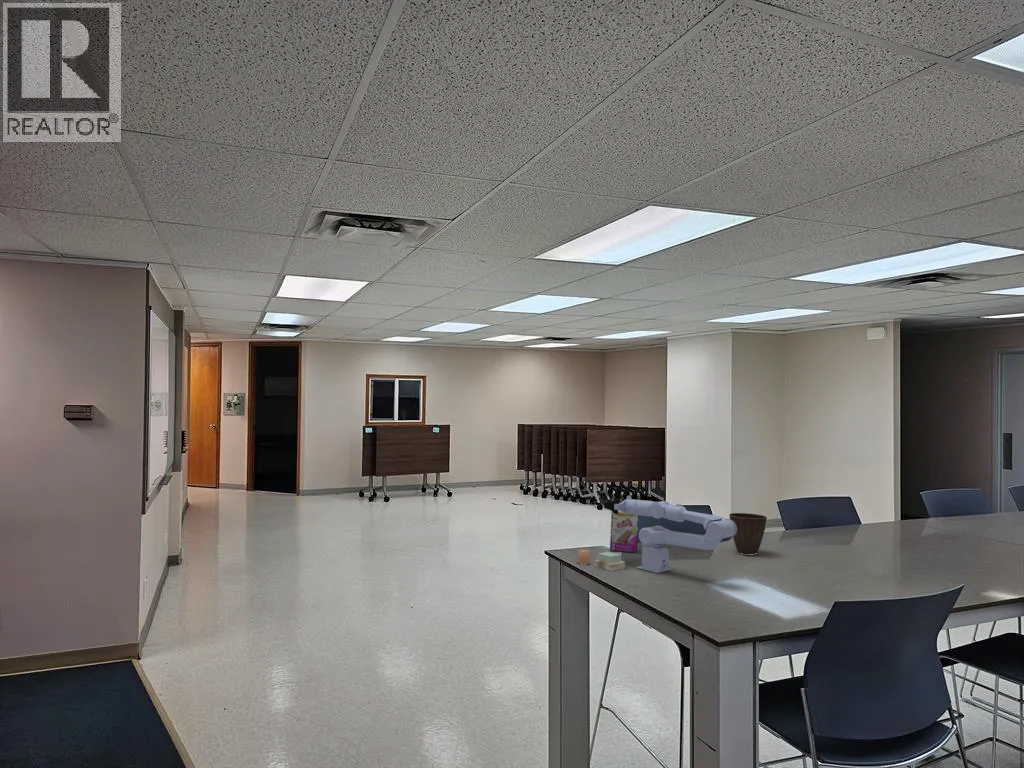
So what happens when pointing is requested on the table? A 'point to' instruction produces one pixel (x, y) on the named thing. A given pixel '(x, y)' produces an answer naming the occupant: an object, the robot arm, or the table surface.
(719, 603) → the table surface
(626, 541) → the candy bar box
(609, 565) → the tower base
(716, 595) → the table surface
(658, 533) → the robot arm
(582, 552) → the terracotta cylinder
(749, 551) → the plant pot
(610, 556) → the tower top
